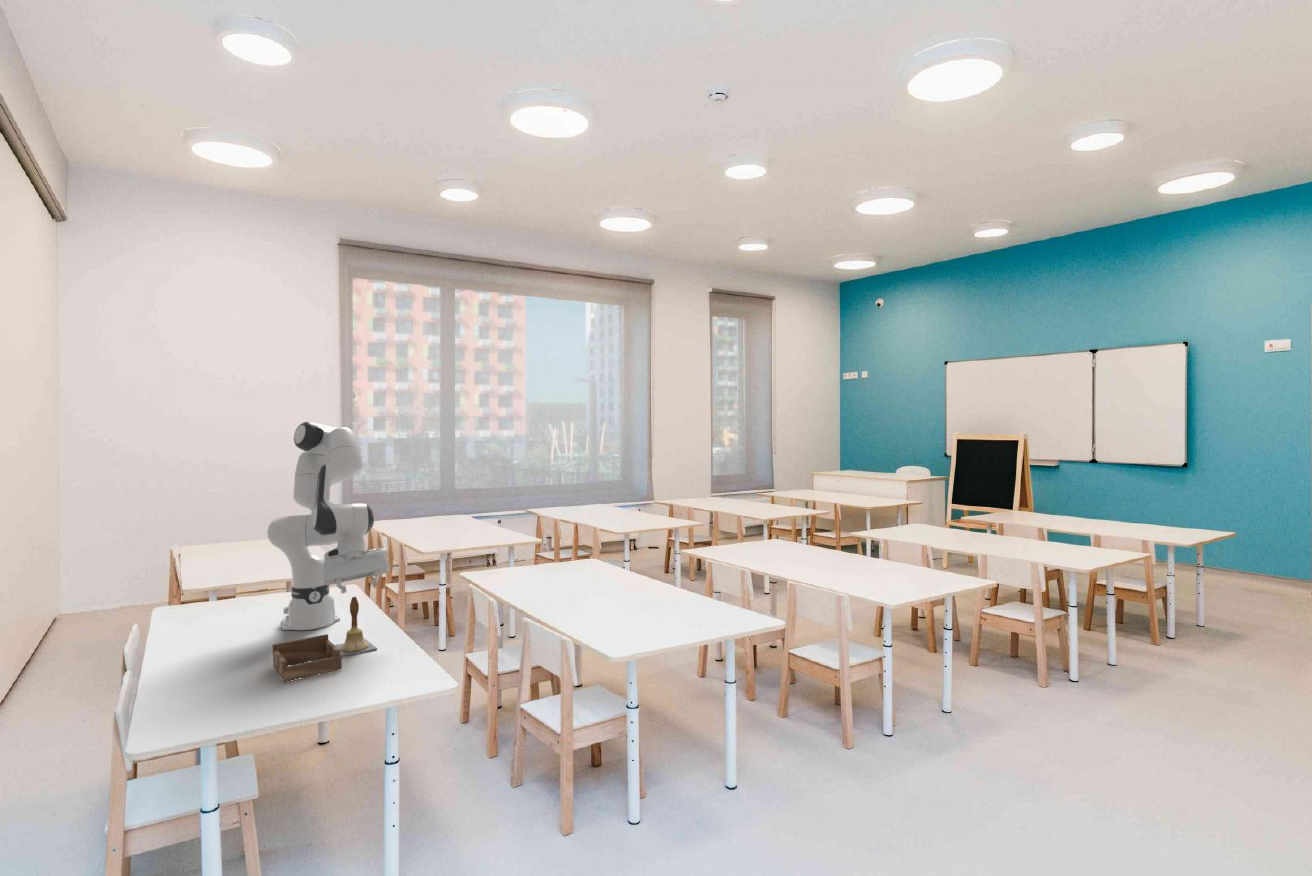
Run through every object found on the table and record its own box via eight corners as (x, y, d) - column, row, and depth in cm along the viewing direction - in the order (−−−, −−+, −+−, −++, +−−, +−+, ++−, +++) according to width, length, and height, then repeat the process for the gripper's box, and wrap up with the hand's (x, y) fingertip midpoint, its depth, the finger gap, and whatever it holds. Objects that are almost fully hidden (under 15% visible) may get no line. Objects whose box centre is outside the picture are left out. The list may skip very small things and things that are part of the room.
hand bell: (358, 641, 229) (357, 592, 229) (374, 646, 225) (373, 596, 224) (334, 649, 222) (333, 598, 222) (350, 653, 218) (349, 602, 217)
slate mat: (326, 648, 225) (326, 647, 225) (365, 641, 232) (365, 639, 232) (336, 658, 215) (336, 656, 215) (377, 650, 223) (377, 648, 223)
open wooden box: (273, 668, 208) (272, 644, 208) (328, 656, 217) (327, 634, 217) (284, 682, 196) (283, 657, 196) (341, 670, 205) (340, 646, 205)
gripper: (385, 552, 244) (393, 586, 236) (320, 565, 234) (326, 601, 227) (385, 542, 239) (393, 576, 232) (319, 554, 230) (325, 590, 222)
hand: (359, 588), depth 229 cm, fingers open, 8 cm apart
